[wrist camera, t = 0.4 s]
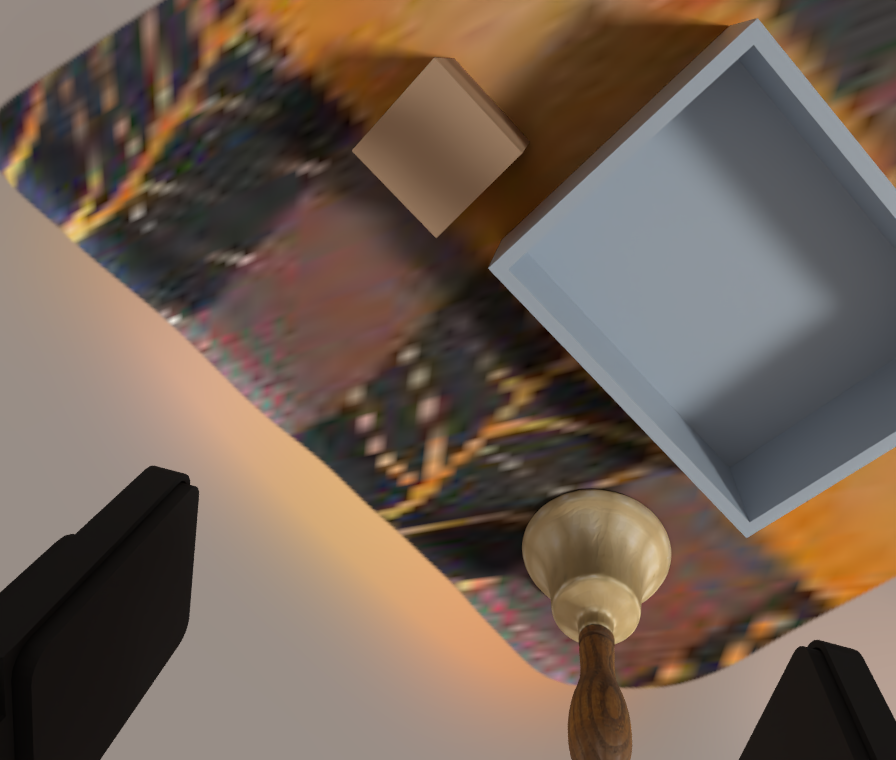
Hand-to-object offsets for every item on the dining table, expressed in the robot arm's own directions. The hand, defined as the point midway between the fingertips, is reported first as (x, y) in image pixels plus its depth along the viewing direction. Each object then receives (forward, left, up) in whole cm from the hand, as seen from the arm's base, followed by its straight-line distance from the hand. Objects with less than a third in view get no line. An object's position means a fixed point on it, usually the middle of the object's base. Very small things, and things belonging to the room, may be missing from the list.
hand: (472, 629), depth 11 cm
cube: (0, -7, -27) cm, 28 cm away
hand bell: (+10, +15, -27) cm, 33 cm away
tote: (-5, +7, -27) cm, 28 cm away
